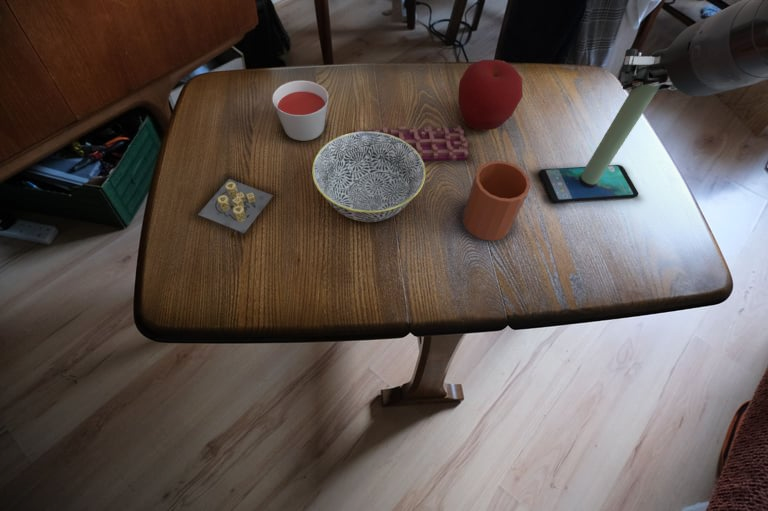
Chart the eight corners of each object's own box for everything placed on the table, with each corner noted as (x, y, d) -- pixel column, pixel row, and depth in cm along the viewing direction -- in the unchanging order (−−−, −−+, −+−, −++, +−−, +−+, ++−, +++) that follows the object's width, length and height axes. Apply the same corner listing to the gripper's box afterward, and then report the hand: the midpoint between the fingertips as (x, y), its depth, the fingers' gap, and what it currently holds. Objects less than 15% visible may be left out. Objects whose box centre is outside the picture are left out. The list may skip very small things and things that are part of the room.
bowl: (349, 153, 74) (349, 116, 68) (435, 189, 71) (443, 154, 65) (295, 217, 66) (289, 182, 60) (389, 261, 63) (393, 229, 56)
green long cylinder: (580, 188, 72) (652, 71, 54) (576, 175, 73) (644, 57, 56) (598, 189, 72) (675, 72, 54) (593, 176, 73) (667, 58, 56)
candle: (271, 119, 78) (264, 88, 73) (318, 106, 81) (316, 75, 75) (288, 152, 74) (283, 121, 68) (338, 137, 76) (337, 106, 71)
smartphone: (538, 168, 73) (622, 163, 75) (536, 172, 74) (620, 167, 76) (552, 201, 69) (640, 195, 71) (550, 204, 70) (638, 198, 72)
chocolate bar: (470, 160, 75) (473, 151, 73) (358, 163, 73) (359, 154, 71) (462, 131, 79) (464, 122, 77) (356, 134, 77) (356, 125, 75)
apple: (480, 152, 76) (497, 94, 66) (438, 119, 80) (449, 59, 71) (522, 128, 80) (545, 69, 70) (480, 97, 85) (496, 38, 75)
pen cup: (520, 224, 68) (541, 183, 60) (488, 249, 65) (505, 209, 57) (485, 195, 71) (500, 153, 63) (452, 218, 68) (464, 176, 60)
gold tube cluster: (242, 223, 65) (239, 214, 64) (213, 211, 66) (209, 203, 64) (261, 199, 68) (259, 191, 66) (232, 188, 69) (229, 180, 67)
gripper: (818, 14, 42) (698, 59, 59) (668, -2, 42) (592, 47, 59) (794, 97, 43) (684, 118, 60) (650, 81, 43) (581, 106, 60)
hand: (639, 83), depth 59 cm, fingers closed on green long cylinder, 3 cm apart
